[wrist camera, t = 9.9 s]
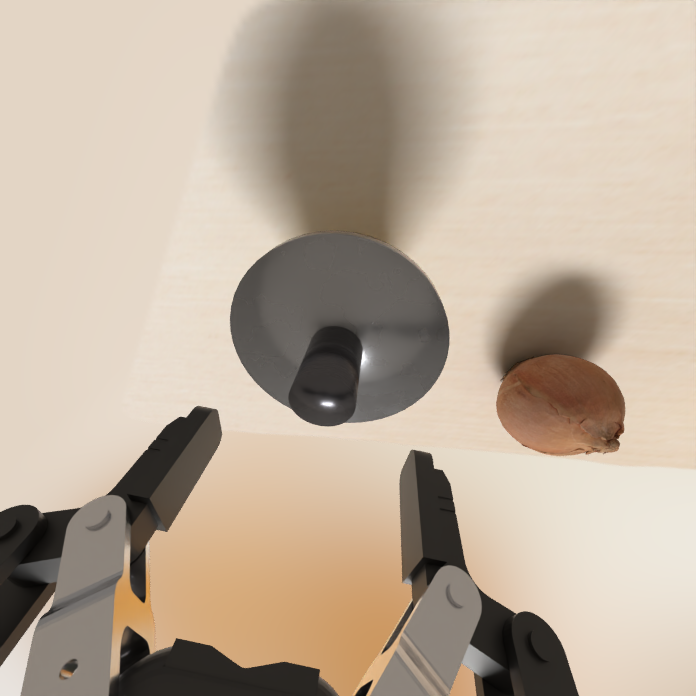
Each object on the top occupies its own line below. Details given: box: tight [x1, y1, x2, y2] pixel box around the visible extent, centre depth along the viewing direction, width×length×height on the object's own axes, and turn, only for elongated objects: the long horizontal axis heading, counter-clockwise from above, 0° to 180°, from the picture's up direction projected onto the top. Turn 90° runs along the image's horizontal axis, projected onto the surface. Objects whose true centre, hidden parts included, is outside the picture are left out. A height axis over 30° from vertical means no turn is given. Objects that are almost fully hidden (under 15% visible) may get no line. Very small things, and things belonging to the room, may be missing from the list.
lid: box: [230, 231, 449, 426], centre depth 15 cm, size 13×13×6 cm
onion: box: [496, 354, 625, 456], centre depth 25 cm, size 10×9×10 cm
